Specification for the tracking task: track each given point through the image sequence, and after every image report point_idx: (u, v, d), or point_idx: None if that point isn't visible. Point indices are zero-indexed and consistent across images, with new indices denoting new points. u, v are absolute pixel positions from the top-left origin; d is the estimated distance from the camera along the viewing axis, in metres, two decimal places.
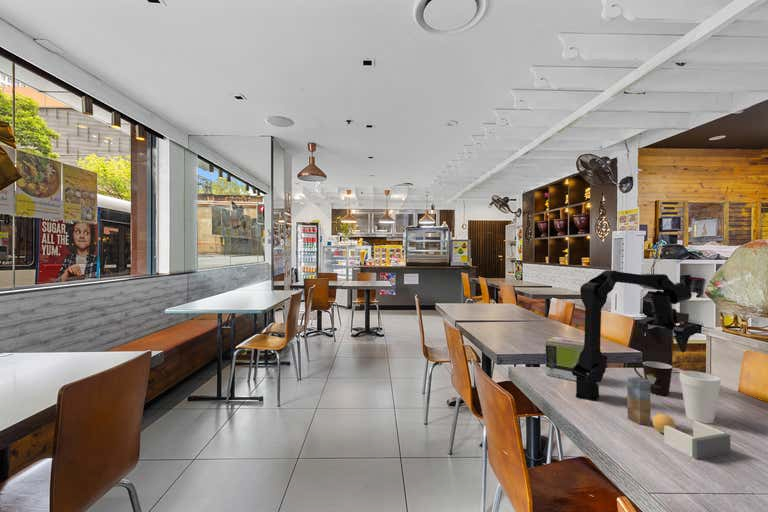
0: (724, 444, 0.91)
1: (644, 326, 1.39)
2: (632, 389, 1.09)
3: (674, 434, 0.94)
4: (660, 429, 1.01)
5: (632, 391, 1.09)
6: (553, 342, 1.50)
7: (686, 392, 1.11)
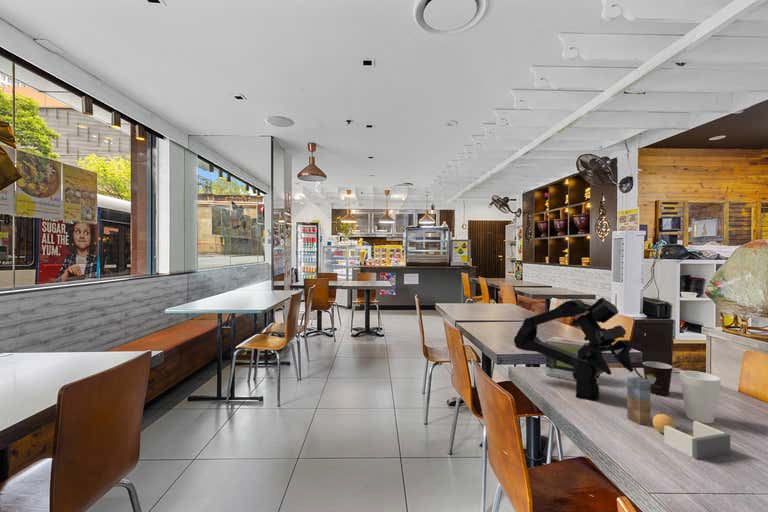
0: (724, 444, 0.91)
1: None
2: (632, 389, 1.09)
3: (674, 434, 0.94)
4: (660, 429, 1.01)
5: (632, 391, 1.09)
6: (553, 342, 1.50)
7: (686, 392, 1.11)
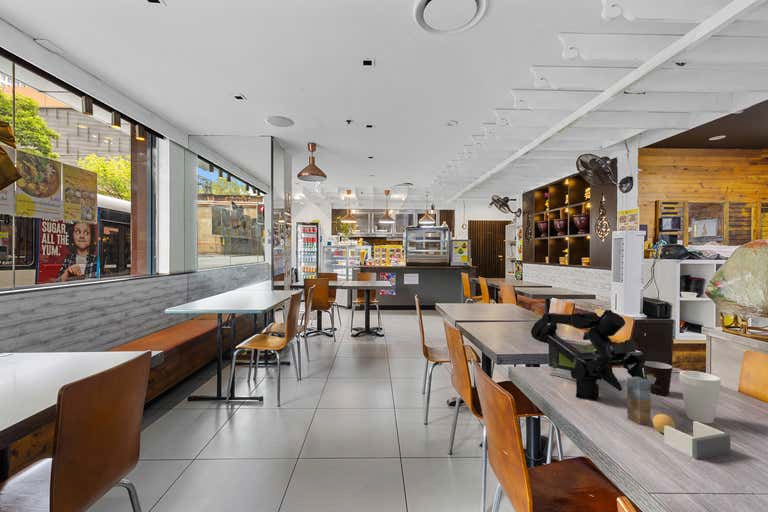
0: (724, 444, 0.91)
1: None
2: (632, 389, 1.09)
3: (674, 434, 0.94)
4: (660, 429, 1.01)
5: (632, 391, 1.09)
6: None
7: (686, 392, 1.11)
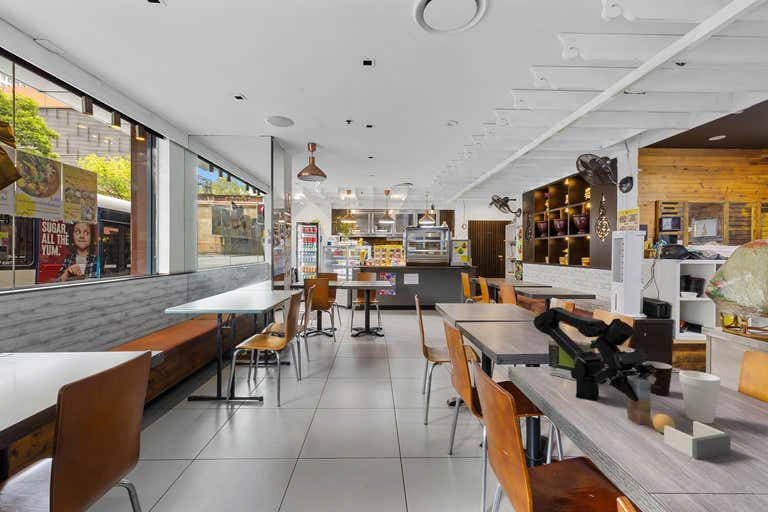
0: (724, 444, 0.91)
1: None
2: None
3: (674, 434, 0.94)
4: (660, 429, 1.01)
5: None
6: None
7: (686, 392, 1.11)
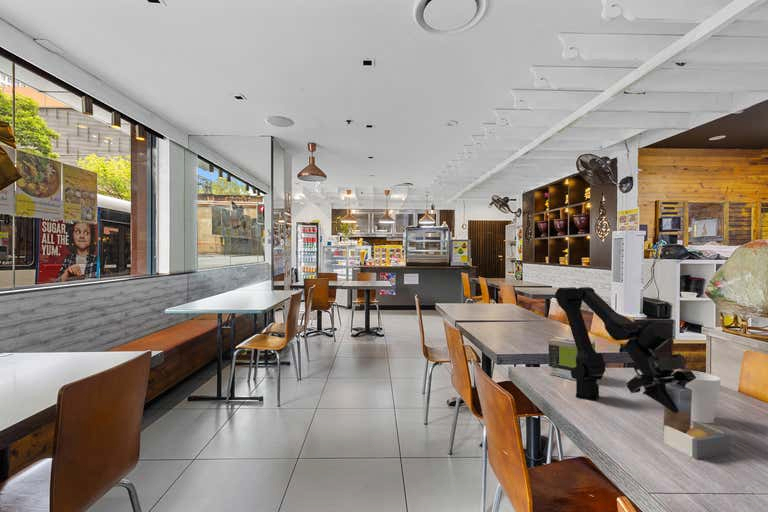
0: (724, 444, 0.91)
1: None
2: (671, 399, 0.98)
3: (674, 434, 0.94)
4: (689, 434, 0.93)
5: None
6: (556, 342, 1.51)
7: None
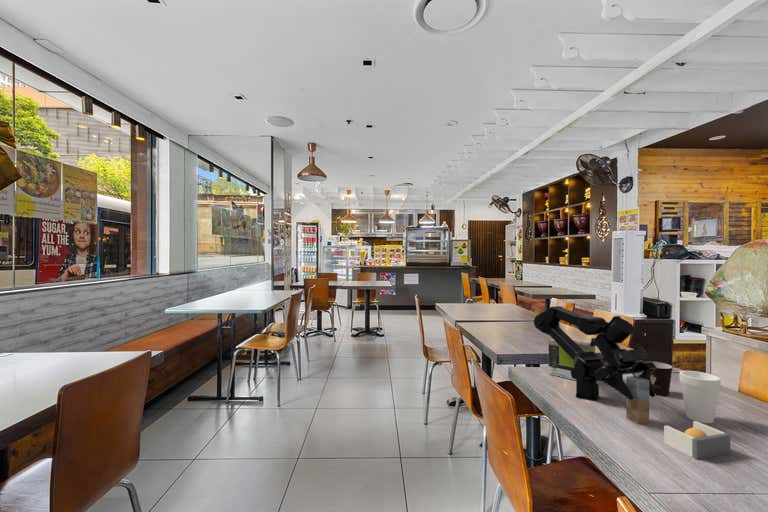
0: (724, 444, 0.91)
1: None
2: (631, 389, 1.09)
3: (674, 434, 0.94)
4: (687, 434, 0.94)
5: (631, 390, 1.10)
6: None
7: (686, 392, 1.11)
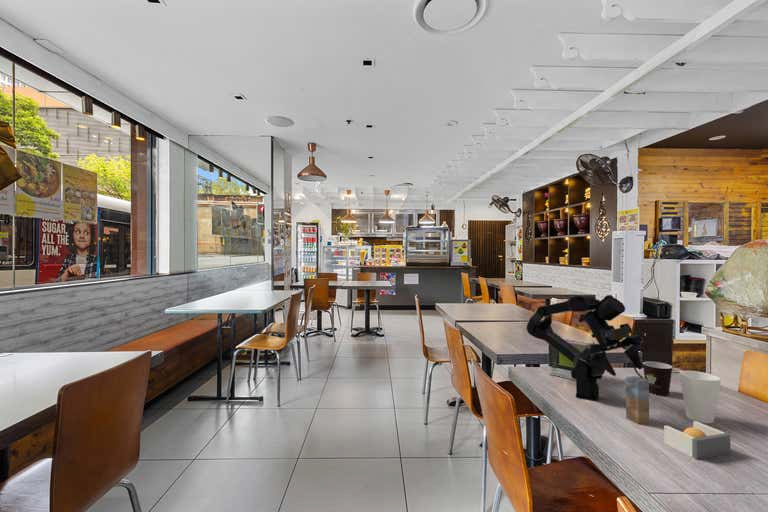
0: (724, 444, 0.91)
1: None
2: (631, 389, 1.10)
3: (674, 434, 0.94)
4: None
5: (631, 390, 1.10)
6: None
7: (686, 392, 1.11)
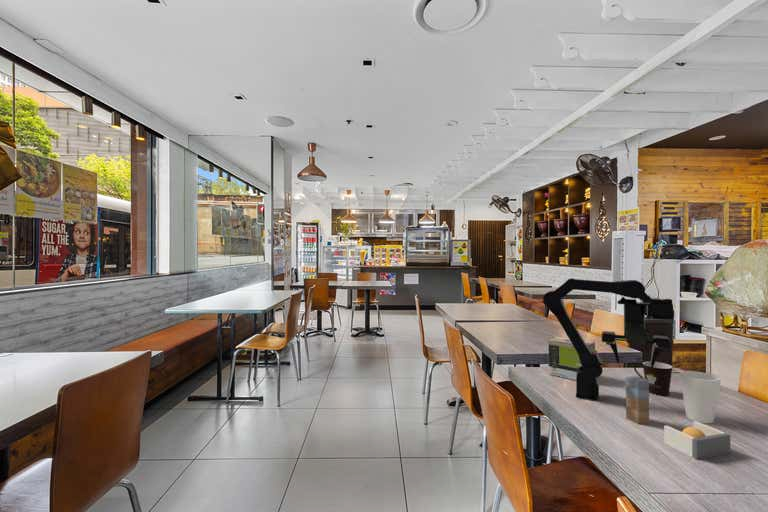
0: (724, 444, 0.91)
1: None
2: (631, 389, 1.10)
3: (674, 434, 0.94)
4: None
5: (631, 390, 1.10)
6: (556, 342, 1.51)
7: (686, 392, 1.11)
